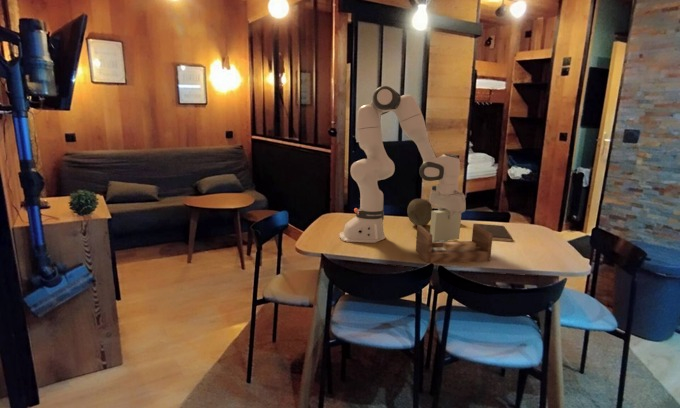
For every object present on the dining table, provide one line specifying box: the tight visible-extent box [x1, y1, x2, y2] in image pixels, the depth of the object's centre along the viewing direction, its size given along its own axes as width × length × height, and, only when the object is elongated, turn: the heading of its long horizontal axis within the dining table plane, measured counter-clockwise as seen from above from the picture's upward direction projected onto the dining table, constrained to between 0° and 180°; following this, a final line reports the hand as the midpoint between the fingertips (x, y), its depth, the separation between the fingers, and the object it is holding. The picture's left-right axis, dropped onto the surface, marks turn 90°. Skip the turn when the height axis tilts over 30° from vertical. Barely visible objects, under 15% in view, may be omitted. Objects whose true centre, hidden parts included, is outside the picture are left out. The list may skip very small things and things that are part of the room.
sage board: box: [429, 209, 462, 242], centre depth 193 cm, size 14×4×14 cm, turn 111°
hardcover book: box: [476, 223, 514, 243], centre depth 210 cm, size 16×23×2 cm
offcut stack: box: [432, 240, 476, 252], centre depth 171 cm, size 20×4×8 cm, turn 97°
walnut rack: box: [415, 223, 493, 264], centre depth 174 cm, size 28×15×12 cm, turn 97°
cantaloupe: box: [407, 198, 433, 227], centre depth 221 cm, size 14×14×15 cm
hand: (445, 217), depth 192 cm, fingers closed on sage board, 4 cm apart
